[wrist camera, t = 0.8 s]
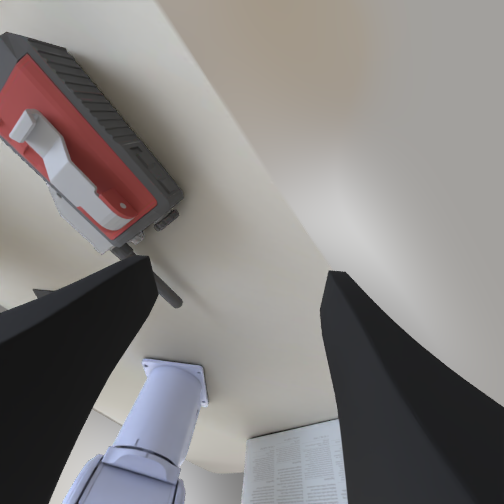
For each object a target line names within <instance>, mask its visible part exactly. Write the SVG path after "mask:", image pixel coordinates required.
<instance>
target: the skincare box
mask: <svg viewBox="0 0 504 504" xmlns="http://www.w3.org/2000/svg"><path fill="white" fill-rule="evenodd" d="M241 504H348V499H347V488H346V478H345V469H344V460H343V451H342V441H341V433H340V425H339V419H336V420H332V421H327V422H322V423H318V424H314V425H309V426H305V427H301V428H296V429H292V430H288V431H283V432H279V433H275V434H270V435H266V436H261V437H257V438H253V439H248V440H247V442H246V457H245V469H244V481H243V490H242V499H241Z"/></svg>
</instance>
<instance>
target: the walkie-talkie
mask: <svg viewBox="0 0 504 504" xmlns="http://www.w3.org/2000/svg"><path fill="white" fill-rule="evenodd" d="M0 138H1V139H2V140H3V141H4V142H5V144H6V145H7V146H9V147H10V148H11V149H12V150H13V151H14V152H15V153H16V154H18V155H19V156H20V157H21V159H22V160H23V161H25V162H26V163H27V164H28V165H29V167H31V168H32V169H33V170H34V171H35V172H36V173H37V174H38V175H40V176H41V177H42V178H43V180H44V181H45V182H47V183H46V184H47V185H48V186H49V187H48V188H49V191H50V193H51V195H52V198H53V200H54V202H55V205H56V207H57V209H58V212H59V214H60V216H61V217H62V218H64V219H65V220H66V221H67V222H68V223H69V224H70V225H71V226H72V227H73V228H74V229H76V230H77V231H78V232H79V233H80V234H81V235H82V236H83V237H84V238H85V239H86V240H88V241H89V242H90V243H91V244H92V245H93V246H94V249H95V250H96V251H98V252H99V253H100V254H101V255H102V254H104V253H105V252H106V251H108V250H110V251H111V252H112V253H113V254H115V255H116V256H117V257H118V258H119V259H120V260H123V259H126V258H128V257H131V256H134V255H136V254H135V253H134V252H133V249H132V248H131V247H130V246H129V245H128V244H127V243H126V242H128V241H129V242H132V243H134V244H135V245H136V244H138V243H139V242H140V241H142V239H144V237H145V236H144V235H143V234H142V232H143V231H142V230H144V229H145V228H146V227H148V226H149V225H150V224H151V223H153V222H154V223H155V225H154V228H155V229H156V230H157V231H160V230H162V229H164V228H165V227H166V226H167V225H169V224H170V223H171V222H172V221H174V220H175V219H176V218H177V217H178V216H179V213H178V211H177V210H173V211H172V210H171V208H172V207H173V206H175V205H176V204H177V203H178V202H179V201H181V200H182V199H183V191H182V190H181V189H180V188H179V186H178V185H177V184H176V183H175V181H174V180H173V179H172V178H171V177H170V175H169V174H168V173H167V172H166V170H165V169H164V168H163V167H162V166H161V164H160V163H159V162H158V161H157V159H156V158H155V157H154V156H153V155H152V153H151V152H150V151H149V150H148V148H147V147H146V146H145V145H144V144H143V142H142V141H141V140H140V139H138V137H137V136H136V135H135V133H134V131H132V130H131V129H130V128H129V125H128V124H126V123H125V122H124V120H123V118H122V117H121V116H119V114H118V113H117V111H116V109H115V108H113V107H112V106H111V105H110V102H109V101H108V100H106V98H105V97H104V96H103V93H102V92H100V91H99V90H98V89H97V87H96V85H95V84H94V83H92V81H91V80H90V79H89V76H88V75H87V74H85V73H84V72H83V70H82V68H81V67H80V65H78V64H77V63H76V62H75V60H74V58H73V57H72V56H70V55H69V53H68V52H67V50H66V48H63V47H59V46H56V45H53V44H49V43H46V42H42V41H39V40H35V39H32V38H28V37H25V36H21V35H17V34H13V33H9V32H5V33H4V34H2V35H0ZM153 274H154V278H155V282H156V286H157V289H158V293H159V294H160V295H161V296H162V297H163V298H164V299H165V300H166V301H167V302H168V303H170V304H171V305H172V306H173V307H174V308H179V307H181V306H182V303H183V301H182V299H181V298H180V297H179V296H178V295H177V294H176V293H175V292H174V291H173V290H172V289H171V288H170V287H169V286H168V285H167V284H166V283H164V282H163V281H162V280H161V279H160V278H159V277H158V276H157V275H156V274H155V273H154V272H153Z"/></svg>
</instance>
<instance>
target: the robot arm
mask: <svg viewBox="0 0 504 504" xmlns="http://www.w3.org/2000/svg"><path fill="white" fill-rule="evenodd" d="M158 295H159V293H158V289H157V286H156V282H155V278H154V274H153V270H152V266H151V262H150V258H149V256H142V255H134V256H131V257H128V258H126V259H123V260H121V261H119V262H117V263H115V264H112V265H110V266H108V267H106V268H104V269H102V270H100V271H98V272H96V273H94V274H91V275H89V276H87V277H85V278H83V279H81V280H79V281H77V282H74V283H72V284H70V285H68V286H65V287H63V288H61V289H59V290H56V291H54V292H52V293H50V294H47V295H45V296H43V297H40V298H38V299H36V300H33V301H31V302H28V303H26V304H23V305H20V306H18V307H15V308H12V309H10V310H7V311H4V312H2V313H0V504H49V501H50V499H51V496H52V494H53V491H54V489H55V487H56V485H57V482H58V480H59V477H60V475H61V473H62V470H63V468H64V466H65V464H66V462H67V460H68V458H69V455H70V453H71V451H72V449H73V447H74V445H75V442H76V440H77V438H78V436H79V434H80V432H81V430H82V428H83V426H84V424H85V422H86V420H87V418H88V416H89V414H90V412H91V410H92V408H93V406H94V404H95V402H96V400H97V398H98V396H99V395H100V393H101V391H102V389H103V387H104V385H105V383H106V381H107V380H108V378H109V376H110V374H111V373H112V371H113V369H114V368H115V366H116V365H117V363H118V362H119V360H120V359H121V357H122V356H123V354H124V353H125V351H126V349H127V348H128V346H129V345H130V343H131V342H132V340H133V339H134V337H135V336H136V334H137V333H138V331H139V330H140V328H141V327H142V325H143V324H144V322H145V321H146V319H147V317H148V316H149V314H150V312H151V310H152V308H153V306H154V304H155V301H156V299H157V297H158ZM320 318H321V329H322V336H323V341H324V346H325V351H326V356H327V360H328V365H329V369H330V374H331V379H332V383H333V388H334V392H335V398H336V403H337V409H338V417H339V425H340V433H341V441H342V451H343V460H344V469H345V478H346V488H347V499H348V504H504V407H503V406H501V405H500V404H498V403H497V402H495V401H494V400H493V399H491V398H490V397H488V396H487V395H485V394H484V393H483V392H481V391H480V390H478V389H477V388H476V387H474V386H473V385H472V384H470V383H469V382H467V381H466V380H464V379H463V378H462V377H461V376H459V375H458V374H457V373H455V372H454V371H453V370H451V369H450V368H449V367H447V366H446V365H445V364H444V363H442V362H441V361H440V360H439V359H437V358H436V357H435V356H433V355H432V354H431V353H430V352H429V351H427V350H426V349H425V348H424V347H422V346H421V345H420V344H419V343H418V342H417V341H415V340H414V339H413V338H412V337H411V336H410V335H409V334H407V333H406V332H405V331H404V330H403V329H402V328H401V327H400V326H399V325H397V324H396V323H395V322H394V321H393V320H392V319H391V318H390V317H389V316H388V315H387V314H386V313H385V312H384V311H383V310H381V308H380V307H379V306H378V305H377V304H376V303H375V302H374V301H373V300H372V299H371V298H370V297H369V296H368V295H367V294H366V293H365V292H364V291H363V290H362V289H361V288H360V287H359V286H358V284H357V283H355V281H354V280H353V279H352V278H351V277H350V276H349V275H348V274H347V273H346V272H340V271H329V272H328V276H327V281H326V285H325V290H324V294H323V298H322V303H321V307H320ZM142 365H143V368H144V370H145V373H146V376H147V380H146V382H145V384H144V386H143V388H142V390H141V391H140V393H139V395H138V397H137V399H136V401H135V403H134V405H133V407H132V409H131V411H130V413H129V414H128V416H127V418H126V420H125V422H124V424H123V426H122V428H121V430H120V432H119V434H118V436H117V438H116V439H115V441H114V443H113V445H112V446H109V448H108V449H107V452H106V453H105V455H101V454H98V455H96V456H95V457H94V458H92V459H90V460H89V461H88V462H87V463H86V464H85V466H84V467H83V469H82V470H81V472H80V473H79V475H78V476H77V478H76V479H75V481H74V483H73V484H72V486H71V488H70V490H69V491H68V493H67V495H66V497H65V499H64V500H63V502H62V504H184V501H185V488H184V483H183V480H182V479H179V478H178V477H179V474H180V471H181V468H179V467H180V465H181V464H182V463H183V461H184V459H185V457H186V455H187V452H188V449H189V446H190V442H191V439H192V435H193V432H194V428H195V425H196V422H197V418H198V415H199V411H200V408H201V407H207V406H208V397H207V391H206V384H205V378H204V371H203V367H202V366H199V365H192V364H184V363H176V362H169V361H161V360H153V359H143V360H142Z"/></svg>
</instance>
